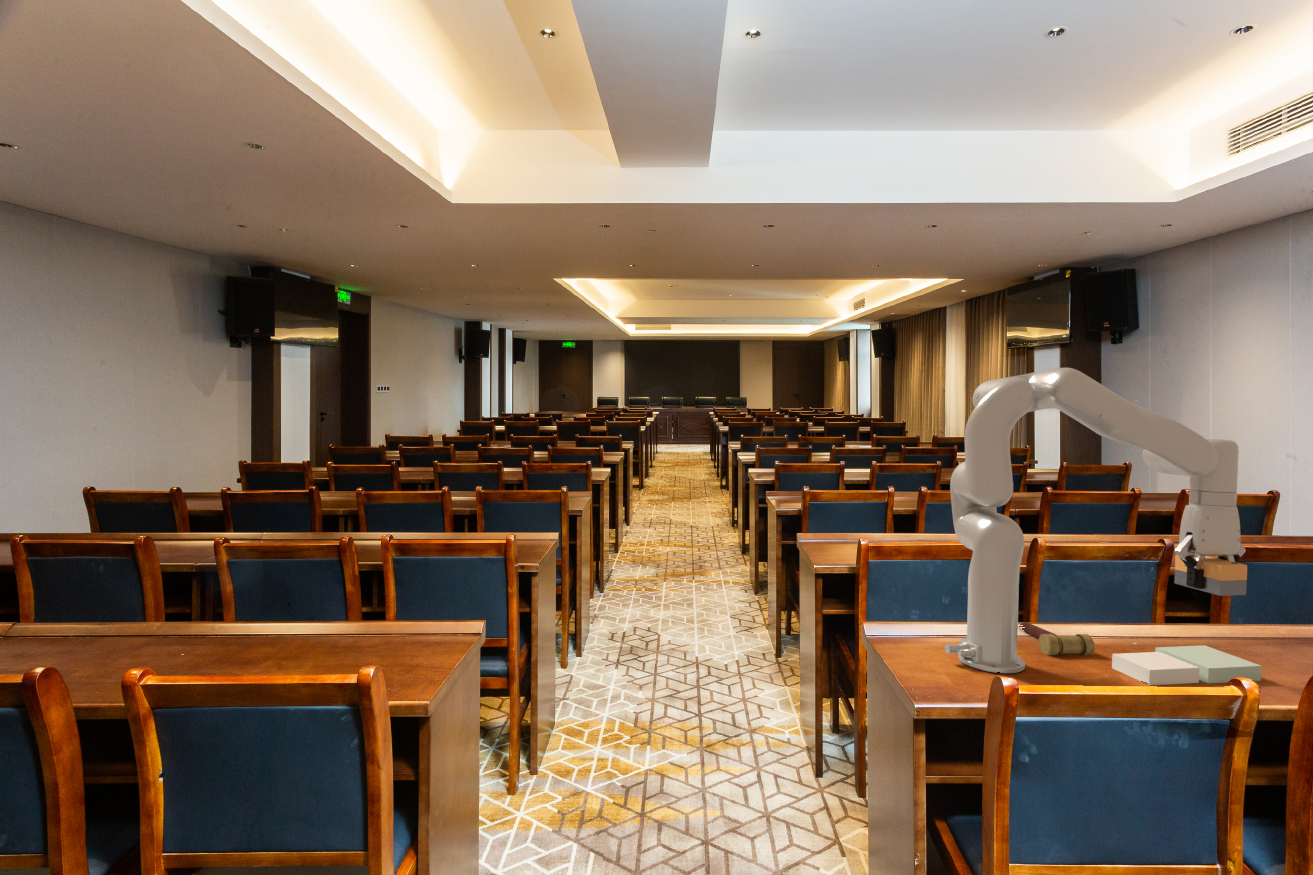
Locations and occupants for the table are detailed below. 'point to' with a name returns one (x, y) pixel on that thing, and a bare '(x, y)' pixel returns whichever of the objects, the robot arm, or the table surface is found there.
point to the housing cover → (1217, 568)
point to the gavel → (1060, 641)
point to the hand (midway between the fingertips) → (1209, 586)
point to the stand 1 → (1155, 668)
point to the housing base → (1215, 585)
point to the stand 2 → (1214, 663)
